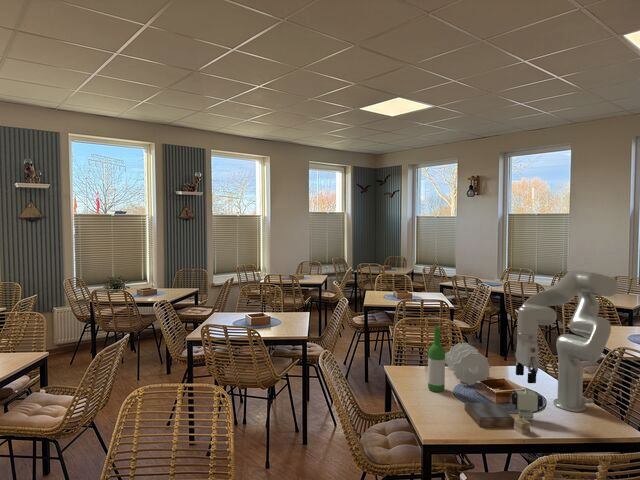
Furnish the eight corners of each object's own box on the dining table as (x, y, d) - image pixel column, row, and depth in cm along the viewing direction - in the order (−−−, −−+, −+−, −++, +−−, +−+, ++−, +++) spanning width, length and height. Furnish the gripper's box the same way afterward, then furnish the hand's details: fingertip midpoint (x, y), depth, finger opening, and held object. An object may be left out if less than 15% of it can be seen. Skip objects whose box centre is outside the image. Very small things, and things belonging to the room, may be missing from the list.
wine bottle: (444, 387, 219) (445, 326, 218) (444, 393, 212) (445, 330, 211) (427, 386, 221) (428, 325, 220) (427, 391, 214) (428, 329, 213)
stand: (496, 409, 193) (496, 401, 193) (514, 426, 177) (514, 417, 177) (464, 410, 193) (464, 402, 193) (479, 426, 177) (479, 418, 177)
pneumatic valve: (542, 422, 181) (543, 393, 180) (511, 420, 183) (512, 391, 183) (538, 417, 186) (539, 388, 186) (508, 414, 189) (509, 386, 188)
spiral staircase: (466, 379, 243) (483, 394, 218) (437, 364, 243) (450, 378, 218) (481, 348, 244) (499, 360, 219) (452, 334, 244) (467, 344, 219)
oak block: (522, 428, 176) (522, 418, 176) (530, 433, 172) (530, 422, 172) (513, 429, 175) (514, 419, 175) (521, 434, 171) (521, 424, 171)
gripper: (547, 342, 175) (546, 386, 175) (525, 332, 192) (523, 372, 193) (529, 342, 175) (527, 386, 175) (508, 332, 192) (506, 372, 192)
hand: (525, 378), depth 184 cm, fingers open, 9 cm apart
